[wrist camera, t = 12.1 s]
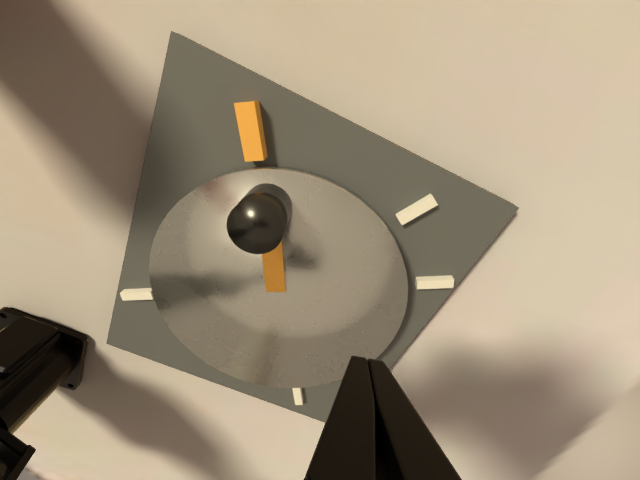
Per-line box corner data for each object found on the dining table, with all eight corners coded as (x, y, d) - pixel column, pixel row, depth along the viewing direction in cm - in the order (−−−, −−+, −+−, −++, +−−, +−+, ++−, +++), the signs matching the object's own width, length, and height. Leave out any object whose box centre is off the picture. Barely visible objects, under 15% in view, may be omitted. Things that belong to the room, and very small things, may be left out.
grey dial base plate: (341, 419, 27) (341, 440, 26) (113, 336, 25) (97, 353, 23) (512, 203, 18) (528, 214, 17) (178, 33, 16) (160, 27, 14)
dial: (393, 380, 23) (403, 433, 20) (185, 373, 24) (158, 422, 21) (419, 164, 16) (441, 185, 13) (127, 166, 17) (71, 185, 14)
